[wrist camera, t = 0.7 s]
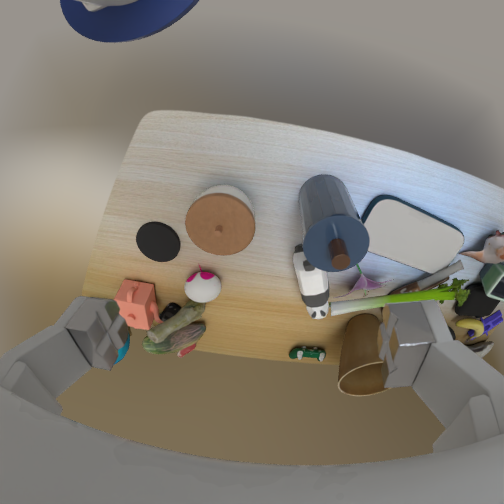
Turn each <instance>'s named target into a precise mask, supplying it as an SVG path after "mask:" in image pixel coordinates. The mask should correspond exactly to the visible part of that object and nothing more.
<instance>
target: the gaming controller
mask: <svg viewBox="0 0 504 504" xmlns="http://www.w3.org/2000/svg"><path fill="white" fill-rule="evenodd" d="M302 347H303V348H296V349H294V350H292V351H291V352H290V354H289V357H290V358H291V359H295V358H298V359H302V357H311V358H317V359H318V361H323V359H324V358H325V356H326V353H325V351H324V350H318V349H317V347H313V348H314V349H307V348H306V346H302Z"/></svg>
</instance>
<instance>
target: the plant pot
mask: <svg viewBox="0 0 504 504" xmlns="http://www.w3.org/2000/svg"><path fill="white" fill-rule="evenodd" d="M380 324H381V323H380V322H379V320H378V319H377V318H376V317H375V316H374V315H371V314H361V315H358V316H355V317H354V318H352V319H351V320H350V321H349V323H348V326H347V329H346V333H345V336H344V341H343V345H342V351H341V357H340V365H339V376H338V388H339V390H340V391H342V392H343V393H345V394H348V395H352V396H368V395H373V394H377V393H381V392H384V391H386V390H388V389H390V388H384V385H383V379H382V373H381V367H382V364H383V360H382V359H380V358H379V355H378V348H377V337H378V330H379V325H380Z"/></svg>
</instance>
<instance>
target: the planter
mask: <svg viewBox="0 0 504 504" xmlns="http://www.w3.org/2000/svg"><path fill="white" fill-rule="evenodd" d="M480 277H481V281H482V284H483V287H484V290H485V293H486V295H487V296H488V297H491V298H494V299H497V300H500V301H503V302H504V264H503V263H501V262H500V263H497V264H493V263H487V264H486V265H485V266H484V268H483V269H482V271H481V272H480Z"/></svg>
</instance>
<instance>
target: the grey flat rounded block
mask: <svg viewBox="0 0 504 504" xmlns="http://www.w3.org/2000/svg"><path fill="white" fill-rule="evenodd" d="M361 221H362V223H363V224H364V226H365V227H366V229H367V231H368V234H369V238H370V243H369V248H368V252H371V253H374V254H377V255H380V256H382V257H385V258H388V259H391V260H394V261H397V262H399V263H402V264H405V265H408V266H411V267H413V268H416V269H419V270H422V271H424V272H427V273H431V274H434V273H436V272H438V271H440V270H443V269H445V268H446V267H448V266H449V264H450V263H451V262H452V260H453V259H454V258H455V256H456V255H457V253H458V252H459V251H460V249H461V247H462V246H463V244H464V235H463V233H462V232H461V231H460V230H459V229H458V228H457V227H456V226H454V225H452V224H450V223H448V222H446V221H444V220H442V219H440V218H438V217H436V216H434V215H432V214H430V213H428V212H426V211H424V210H422V209H420V208H418V207H416V206H414V205H412V204H410V203H408V202H405V201H403V200H401V199H399V198H397V197H394V196H391V195H381V196H378V197H377V198H375V199H374V200H373V201H372V202H371V204H370V205H369V207H368V209H367V211H366V213H365V214H364V216H363V218H362V220H361Z"/></svg>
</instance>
